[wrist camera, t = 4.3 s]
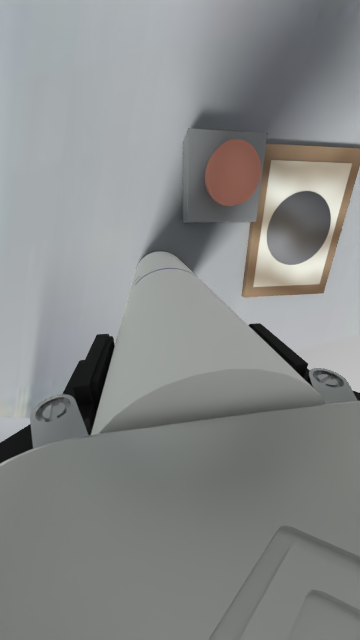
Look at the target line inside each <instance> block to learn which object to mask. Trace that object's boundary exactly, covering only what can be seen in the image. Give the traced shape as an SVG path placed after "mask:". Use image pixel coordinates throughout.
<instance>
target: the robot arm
mask: <svg viewBox="0 0 360 640" xmlns="http://www.w3.org/2000/svg"><path fill="white" fill-rule="evenodd" d="M249 327H250V328H251V329H253V330H254V331H255V332H256V333H257V334H258V335H259V336H260V337H261V338H262V339H263V340H264V341H265V342H266V343H267V344H268V345H269V346H270V347H271V348H272V349H273V350H274V351H275V352H276V353H277V354H279V355H280V356H281V357H282V358H283V359H284V360H285V361H286V362H287V363H288V364H289V365H290V366H291V367H292V368H293V369H294V370H295V371H296V372H297V373H298V374H299V375H300V376H301V377H302V378H304V379H305V380H306V381H307V382H308V383H309V384H310V385H311V386H312V387H313V388H314V389H315V390H316V391H317V392H318V393H319V394H320V395H321V396H322V397H323V399H324V400H325V402H326V403H327V404H324V405H316V406H308V407H300V408H292V409H284V410H275V411H267V412H259V413H251V414H243V415H236V416H228V417H220V418H212V419H205V420H197V421H189V422H182V423H174V424H167V425H159V426H152V427H145V428H137V429H130V430H122V431H115V432H107V433H101V434H95V435H91V432H92V429H93V425H94V421H95V418H96V414H97V410H98V406H99V403H100V399H101V395H102V392H103V388H104V384H105V380H106V377H107V373H108V369H109V366H110V362H111V358H112V354H113V351H114V347H115V346H114V339H113V336H109V334H100V335H97V336H96V338H95V340H94V342H93V344H92V346H91V348H90V351H89V353H88V355H87V357H86V359H85V360H81V361H79V363H78V365H77V367H76V369H75V371H74V373H73V374H72V376H71V378H70V380H69V382H68V384H67V386H66V388H65V390H64V392H63V394H62V395H56V396H53V397H50V398H48V399H46V400H44V401H42V402H41V403H40V404H38V405H37V406H36V407H35V408H34V410H33V411H32V413H31V416H30V423H31V424H30V425H28V426H27V427H25V428H24V429H22V430H20V431H19V432H17V433H16V434H14V435H12V436H11V437H9V438H7V439H6V440H5V441H3V442H1V443H0V640H360V393H358V392H355V391H352V389H351V387H350V385H349V383H348V382H347V381H346V379H345V378H343V377H342V376H341V375H339V374H337V373H336V372H333V371H330V370H327V369H321V368H314V369H312V370H308V369H307V366H308V363H306V362H305V361H304V360H303V359H302V358H300V357H299V356H298V355H297V354H296V353H295V352H293V351H292V350H291V349H290V348H289V347H288V346H286V345H285V344H284V343H283V342H282V341H280V340H279V339H278V338H277V337H276V336H274V335H273V334H272V333H271V332H270V331H269V330H267V329H266V328H265V327H264V326H263V325H261V324H260V323H259V324H250V325H249Z"/></svg>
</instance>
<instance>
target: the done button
mask: <svg viewBox="0 0 360 640" xmlns="http://www.w3.org/2000/svg"><path fill="white" fill-rule="evenodd" d="M260 176H261V163H260V159H259V156H258V153H257V151H256V150H255V148H254V147H253V146H252V145H251V144H250V143H248V142H247V141H245V140H241V139H232V140H229V141H226V142H225V143H223V144H222V145H220V146H219V147H218V148H217V150H216V151H215V152H214V153H213V154H212V156H211V157H210V159H209V161H208V163H207V166H206V170H205V185H206V189H207V191H208V193H209V195H210V197H211V198H212V199H213V200H214V201H215V202H216V203H218V204H219V205H222V206H234V205H238V204H241V203H243V202H245V201H246V200H248V199H249V198H250V197H251V196H252V195H253V193H254V192H255V190H256V188H257V186H258V184H259V181H260Z"/></svg>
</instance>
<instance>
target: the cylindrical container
mask: <svg viewBox="0 0 360 640" xmlns="http://www.w3.org/2000/svg"><path fill="white" fill-rule="evenodd" d="M324 404H327V403H326V402H325V400H324V399H323V397H322V396H321V395H320V394H319V393H318V392H317V391H316V390H315V389H314V388H313V387H312V386H311V385H310V384H309V383H308V382H307V381H306V380H305V379H304V378H302V377H301V376H300V375H299V374H298V373H297V372H296V371H295V370H294V369H293V368H292V367H291V366H290V365H289V364H288V363H287V362H286V361H285V360H284V359H283V358H282V357H281V356H280V355H279V354H277V353H276V352H275V351H274V350H273V349H272V348H271V347H270V346H269V345H268V344H267V343H266V342H265V341H264V340H263V339H262V338H261V337H260V336H259V335H258V334H257V333H256V332H255V331H254V330H253V329H251V328H250V327H249V326H248V325H247V324H246V323H245V322H244V321H243V320H242V319H241V318H240V317H239V316H238V315H237V314H236V313H235V312H234V311H233V310H232V309H231V308H230V307H229V306H227V305H226V304H225V303H224V302H223V301H222V300H221V299H220V298H219V297H218V296H217V295H216V294H215V293H214V292H213V291H212V290H211V289H210V288H209V287H208V286H207V285H206V284H204V283H203V282H202V281H201V280H200V279H199V278H198V277H197V276H196V275H195V274H194V273H193V272H192V271H191V270H190V269H189V268H188V267H187V266H186V265H185V264H184V263H183V262H182V261H180V260H179V259H178V258H177V257H176V256H174V255H173V254H171V253H168V252H163V251H158V252H153V253H150V254H148V255H146V256H145V257H144V258H142V259H141V260H140V262H139V263H138V265H137V267H136V270H135V273H134V277H133V281H132V284H131V288H130V291H129V295H128V299H127V302H126V306H125V310H124V314H123V317H122V321H121V325H120V328H119V332H118V336H117V340H116V343H115V347H114V351H113V354H112V358H111V362H110V366H109V369H108V373H107V377H106V380H105V384H104V388H103V392H102V395H101V399H100V403H99V406H98V410H97V414H96V418H95V421H94V425H93V429H92V432H91V435H95V434H101V433H107V432H115V431H122V430H130V429H137V428H145V427H152V426H159V425H167V424H174V423H182V422H189V421H197V420H205V419H212V418H220V417H228V416H236V415H243V414H251V413H259V412H267V411H275V410H284V409H292V408H300V407H308V406H316V405H324Z"/></svg>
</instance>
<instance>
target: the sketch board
mask: <svg viewBox="0 0 360 640" xmlns="http://www.w3.org/2000/svg"><path fill="white" fill-rule="evenodd" d="M359 166H360V148H341V147H322V146H302V145H283V144H266V149H265V157H264V164H263V172H262V180H261V187H260V195H259V203H258V211H257V218H256V222H251V223H250V231H249V239H248V248H247V256H246V264H245V273H244V281H243V289H242V296H243V297H258V296H278V295H298V294H317V293H324V289H325V286H326V282H327V279H328V275H329V272H330V268H331V265H332V261H333V257H334V254H335V250H336V247H337V243H338V240H339V236H340V233H341V229H342V226H343V222H344V219H345V215H346V212H347V208H348V205H349V201H350V198H351V194H352V191H353V187H354V184H355V180H356V177H357V173H358V170H359Z"/></svg>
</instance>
